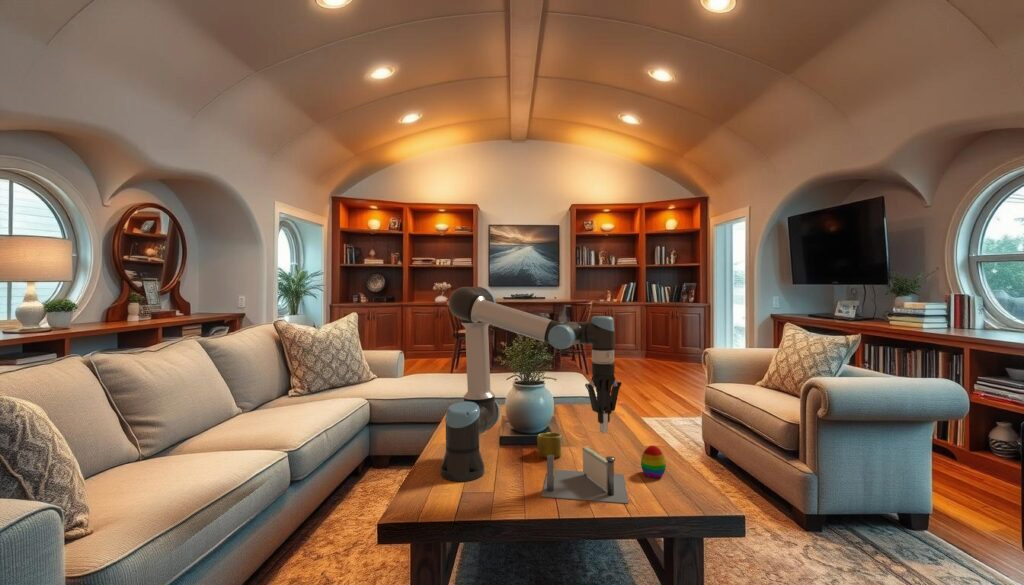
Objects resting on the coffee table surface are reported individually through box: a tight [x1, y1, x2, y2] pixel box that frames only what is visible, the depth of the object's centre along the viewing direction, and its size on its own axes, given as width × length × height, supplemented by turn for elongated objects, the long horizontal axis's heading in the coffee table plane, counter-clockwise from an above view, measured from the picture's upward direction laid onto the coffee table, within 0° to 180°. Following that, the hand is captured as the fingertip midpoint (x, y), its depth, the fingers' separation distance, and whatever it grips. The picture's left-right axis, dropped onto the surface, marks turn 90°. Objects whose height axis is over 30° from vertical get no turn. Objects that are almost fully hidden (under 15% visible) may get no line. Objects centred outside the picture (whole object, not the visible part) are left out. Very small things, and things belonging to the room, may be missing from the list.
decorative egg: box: [640, 445, 667, 479], centre depth 160 cm, size 8×8×10 cm
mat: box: [540, 469, 629, 505], centre depth 151 cm, size 26×22×1 cm
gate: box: [581, 446, 607, 490], centre depth 152 cm, size 15×2×9 cm, turn 20°
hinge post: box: [605, 456, 616, 496], centre depth 143 cm, size 3×3×12 cm
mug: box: [536, 431, 563, 459], centre depth 179 cm, size 12×10×10 cm
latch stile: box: [546, 455, 557, 491], centre depth 147 cm, size 3×3×11 cm
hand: (603, 432), depth 156 cm, fingers closed
